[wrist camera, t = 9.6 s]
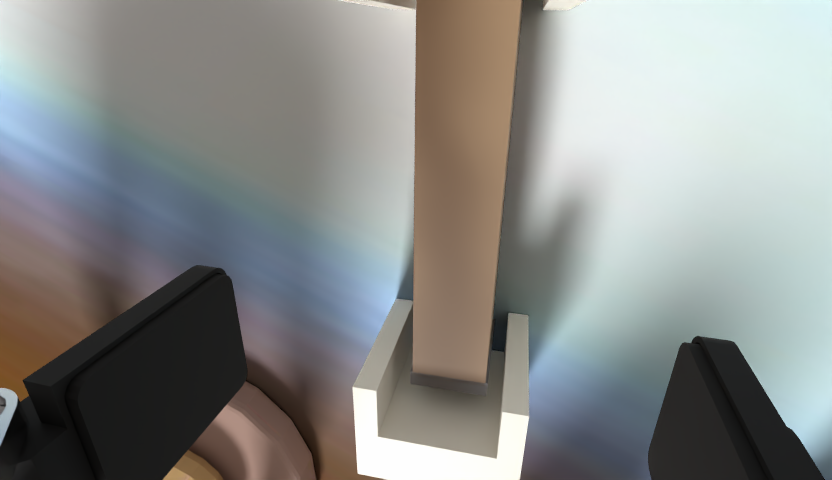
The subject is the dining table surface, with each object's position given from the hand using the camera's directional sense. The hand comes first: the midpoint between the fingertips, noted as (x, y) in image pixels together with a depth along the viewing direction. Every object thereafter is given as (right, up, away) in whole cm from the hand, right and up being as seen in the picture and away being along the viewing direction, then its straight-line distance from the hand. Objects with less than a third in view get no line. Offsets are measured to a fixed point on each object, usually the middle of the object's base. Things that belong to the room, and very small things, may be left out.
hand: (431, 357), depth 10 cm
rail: (+2, +5, +12) cm, 13 cm away
